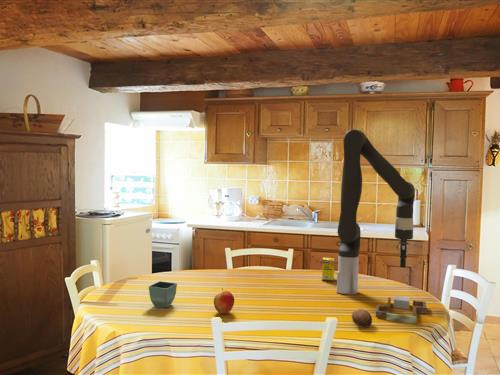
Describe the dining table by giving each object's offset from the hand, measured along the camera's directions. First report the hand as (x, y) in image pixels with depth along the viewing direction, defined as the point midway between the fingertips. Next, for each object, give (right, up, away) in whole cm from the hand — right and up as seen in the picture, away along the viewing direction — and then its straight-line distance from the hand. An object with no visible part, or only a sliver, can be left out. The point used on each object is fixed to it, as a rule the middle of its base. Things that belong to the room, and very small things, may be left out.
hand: (402, 265), depth 196 cm
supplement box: (-27, -13, +33) cm, 45 cm away
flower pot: (-104, -15, -10) cm, 105 cm away
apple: (-78, -16, -18) cm, 81 cm away
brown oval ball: (-26, -17, -30) cm, 43 cm away
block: (-3, -16, -7) cm, 18 cm away
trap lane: (-6, -16, -16) cm, 23 cm away
